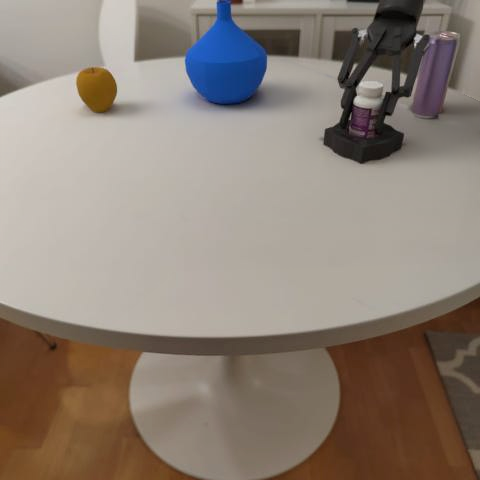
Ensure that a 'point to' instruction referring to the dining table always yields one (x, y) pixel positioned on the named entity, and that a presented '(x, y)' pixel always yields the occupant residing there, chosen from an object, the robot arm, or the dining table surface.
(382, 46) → the robot arm
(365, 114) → the pill bottle
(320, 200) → the dining table surface
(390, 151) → the dock pad
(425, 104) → the beverage can
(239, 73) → the vase
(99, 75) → the apple
